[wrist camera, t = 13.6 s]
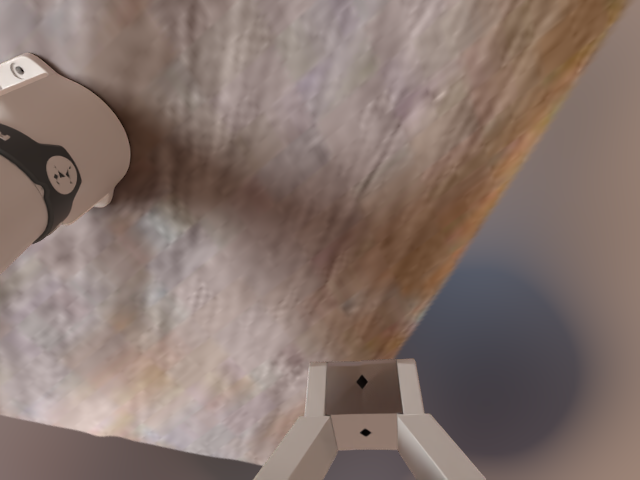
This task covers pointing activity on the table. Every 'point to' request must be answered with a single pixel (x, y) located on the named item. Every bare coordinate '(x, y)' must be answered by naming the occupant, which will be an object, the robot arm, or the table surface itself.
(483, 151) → the table surface
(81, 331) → the table surface
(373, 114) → the table surface
